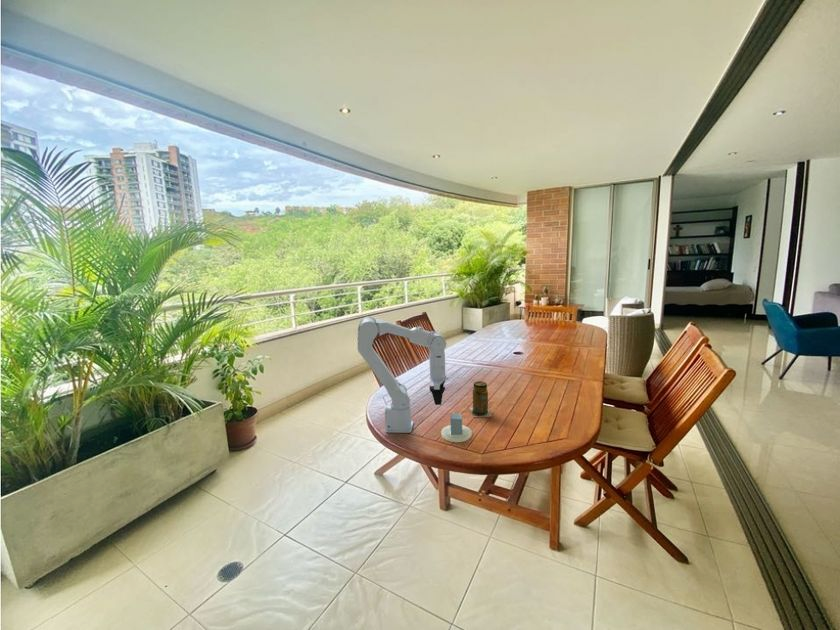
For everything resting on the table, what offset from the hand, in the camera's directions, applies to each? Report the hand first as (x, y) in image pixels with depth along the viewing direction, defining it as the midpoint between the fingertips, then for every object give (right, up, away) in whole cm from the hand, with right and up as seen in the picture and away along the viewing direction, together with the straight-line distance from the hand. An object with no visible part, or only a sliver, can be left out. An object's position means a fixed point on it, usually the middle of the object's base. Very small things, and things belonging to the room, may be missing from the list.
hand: (438, 399), depth 128 cm
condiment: (+17, -7, +9) cm, 21 cm away
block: (+6, -10, -6) cm, 13 cm away
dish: (+6, -11, -6) cm, 14 cm away
